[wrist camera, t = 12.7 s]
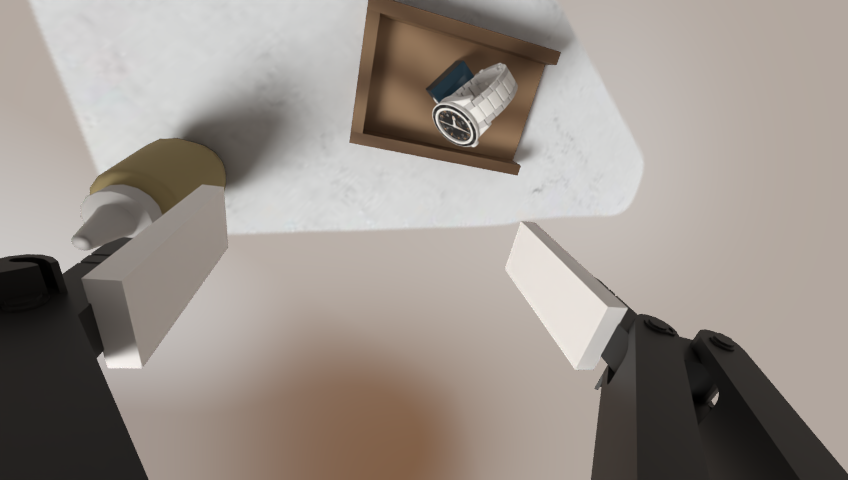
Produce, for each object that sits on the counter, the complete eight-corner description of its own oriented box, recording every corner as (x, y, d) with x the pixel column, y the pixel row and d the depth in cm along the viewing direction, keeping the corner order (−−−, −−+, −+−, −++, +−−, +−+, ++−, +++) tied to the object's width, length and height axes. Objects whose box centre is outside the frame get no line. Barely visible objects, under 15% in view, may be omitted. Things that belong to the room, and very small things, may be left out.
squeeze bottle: (139, 141, 36) (-34, 201, 20) (215, 123, 36) (105, 169, 21) (180, 209, 40) (62, 305, 24) (249, 193, 40) (177, 276, 24)
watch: (411, 101, 38) (429, 114, 28) (468, 48, 36) (508, 43, 26) (442, 140, 40) (468, 164, 30) (496, 92, 39) (542, 101, 29)
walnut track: (368, -1, 34) (369, -7, 30) (544, 53, 39) (560, 52, 35) (350, 136, 39) (349, 142, 36) (506, 167, 44) (517, 175, 41)
